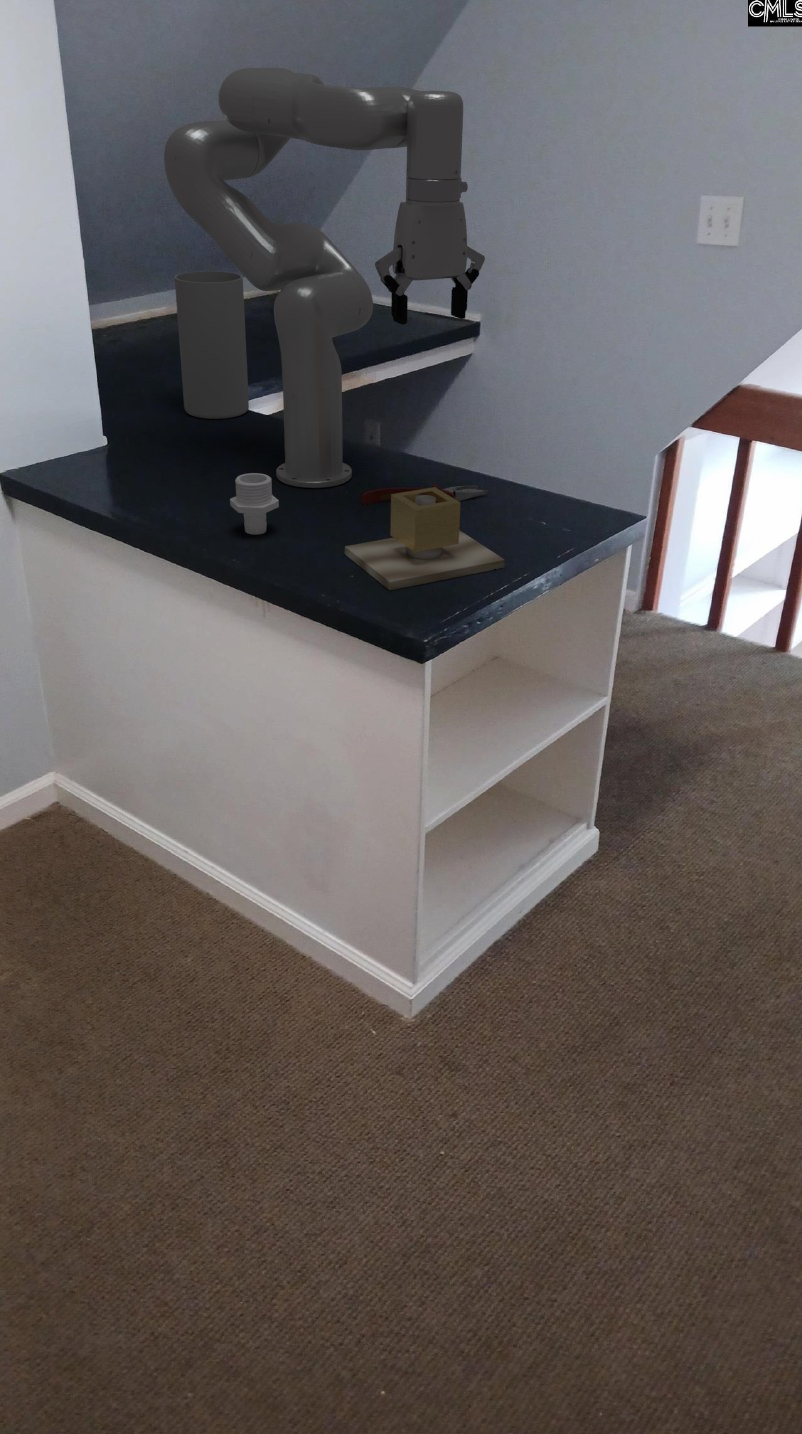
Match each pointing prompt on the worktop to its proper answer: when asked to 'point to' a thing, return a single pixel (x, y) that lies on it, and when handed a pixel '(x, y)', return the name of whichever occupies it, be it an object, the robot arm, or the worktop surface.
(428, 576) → the post stand
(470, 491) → the pliers
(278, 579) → the worktop surface
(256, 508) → the pipe fitting
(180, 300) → the cylinder vase
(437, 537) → the hollow wooden cube
